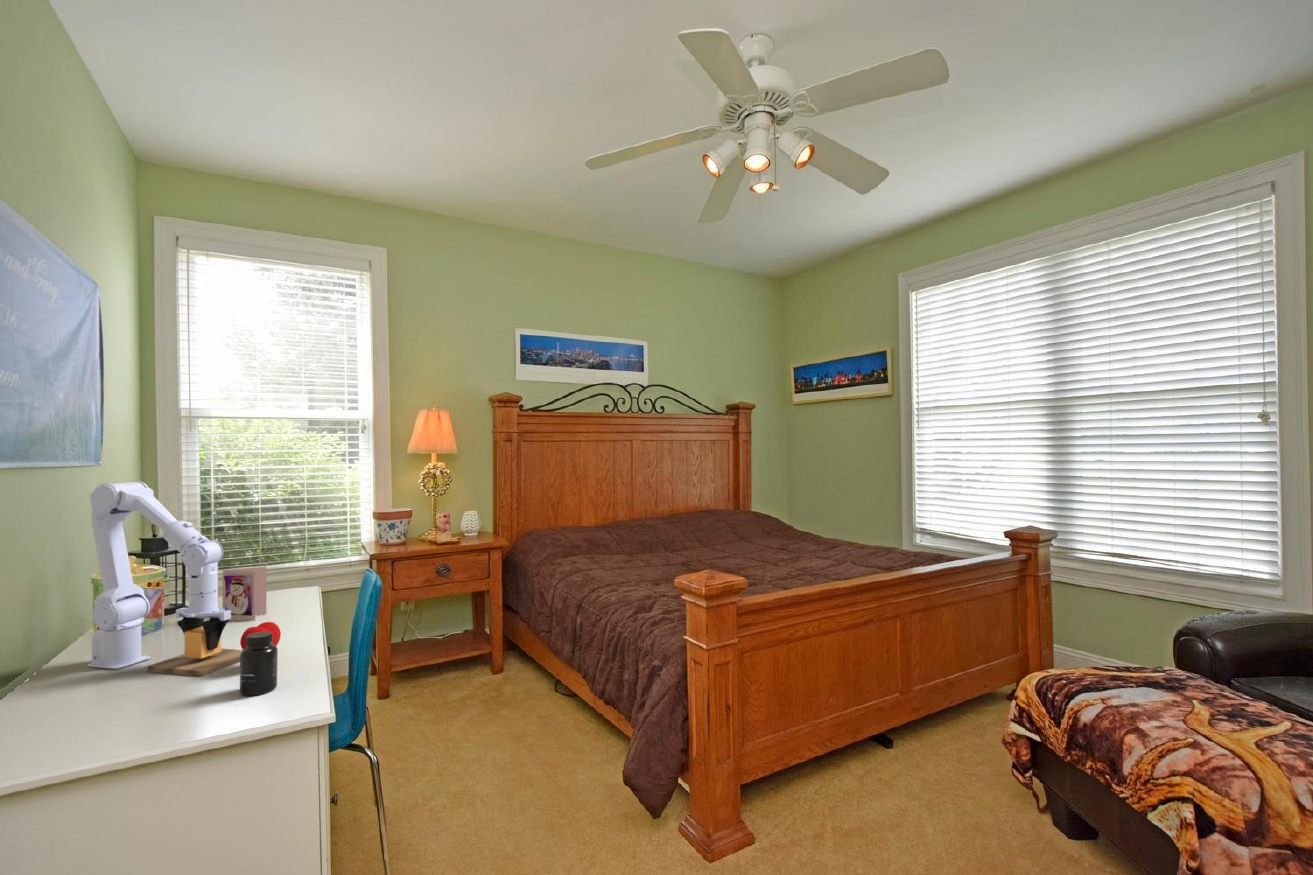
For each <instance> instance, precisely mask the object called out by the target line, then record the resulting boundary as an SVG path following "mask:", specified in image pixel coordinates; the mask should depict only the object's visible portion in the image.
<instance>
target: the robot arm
mask: <svg viewBox="0 0 1313 875" xmlns="http://www.w3.org/2000/svg"><path fill="white" fill-rule="evenodd" d="M154 493H155V492H154V490H153V489H152V488H150V487H149V486H148V485H147V484H146V483H145V482H143V481H140V480H135V481H134V480H133V481H130V482H129V481H128V482H113V483H110V482H105V483H100V484H99V485H97V487H95V488H94V490H93V491H92V492H91V493H90V495H89V501H90V505H91V515H90V516H91V517H90V521H91V526H92V532H93V537H94V538H93V539H94V543H95V549H96V554H97V560H98V565H99V571H100V575H101V581H102V587H103V590H102V591H101V593H100V594H99V595H97V597H96V598H95V599H94V601H93V603H94V611H93V614H92V619H93V622H94V625H95V626H96V627H97V628H99V629H97V630H96V631H95V632H94V634H93V635H92V639H91V663H88V664H87V667H90V668H98V669H99V668H100V669H111V670H118V669H122V668H125V667H128V666H130V665H135V664H137V663H140V662H143V661H146V660H149V659H151V658H152V657H151V656H149V655H142V623H144V622H145V618H146V617H147V616H148V615H149V614H150V611H151V604H150V601H149V599H148V598H147V597H146V595H145V592H144V589H143V588H142V587H141V586H139V585H137V584H135V583H134V580H133V574H132V569H131V564H130V559H129V553H128V548H127V543H126V542H127V541H126V537H125V532H124V527H123V521H124V520H126V518H127V517H128V516H129V515H130V514H132V513H133V512H138V513H140V514H141V515H142V516H143V517H145V518H146V519H148V520H149V521H150V522H151V523H153V524H154V525H156V526H157V527H158V528H160V529H161V530H162V531H163V534H162V537H163V539H164V540H165V541H166V542H167V543H168V544H170V545H171V546H172V547H173V548H174V549H175V550H177V552H179V553H180V554H181V555H182V556H181V561H182V564H184V566H185V567H186V573H187V574H188V607H181V608H177V609H175V618H179V619H180V618H181V619H180V620H178V621H177V626H178V627H180V630H181V631H182V632H183V634H184V636H185V632H186V631H189V630H192V629H196V628H199V627H203V629H204V632H205V636H206V645H207V649H208V650H212V649H215V648H217V647H218V643H219V640H220V637H221V636H222V634H223V631H224V630H225V627H227V626H226V625H227V624H228V623H229V621H230V620H229V619H231V611H229V610H224V609H223V608H222V607H221V608H220V607H218V603H219V602H218V601H219V598H218V597H219V595H218V592H219V588H218V587H219V582H218V581H219V577H218V576H219V567H218V566H219V564H218V563H219V562H220V561H221V560H222V558H223V556H224V548H223V546H222V545H221V543H220V541H218V540H215V539H209V538H207V537H206V536H205V535H202V533H201V532H199V531H198V530H197V529H196V528H195V527H193V526H194V524H193V523H192V522H190V521H186V520H177V519H176V517H175V516H173V515H172V514H171V512H170V511H169V510H168V509H167V508H166V507H165V506H164V504H162V503H161V502H160V501H159V500H158V499H157V498H156V497H155V496H154ZM205 619H206V620H205ZM207 619H209V620H207ZM221 638H222V637H221Z"/></svg>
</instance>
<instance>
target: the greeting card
mask: <svg viewBox="0 0 1313 875" xmlns="http://www.w3.org/2000/svg"><path fill="white" fill-rule="evenodd" d="M222 609H224V610H229V611H231V619H241V620H240V621H252V620H255V621H256V616H255V615H258V616H262V615H261V614H266V615H267V566H259V567H246V568H236V569H235V568H233V569H223V570H222Z"/></svg>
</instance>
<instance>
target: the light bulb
mask: <svg viewBox="0 0 1313 875" xmlns="http://www.w3.org/2000/svg"><path fill="white" fill-rule="evenodd" d="M257 632H272V634H273V638H272V639H273V642H272V643H271V644H274V645H275V646H276V647H277V646H278V644H279V643H280V640H281V628H280V627H279V625H278V624H276V623H275V622H273V621H265V622H261V623H260V624H258V625H257V626H250V627H248V628H246V629H245V630H244V632H243V633H242V636H241V638H240V643H239V644H240V647H241V650H244V649H245V648H246V647H247V646H246V636H248V635H249V634H252V633H257Z"/></svg>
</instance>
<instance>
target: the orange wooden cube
mask: <svg viewBox="0 0 1313 875" xmlns="http://www.w3.org/2000/svg"><path fill="white" fill-rule="evenodd" d="M221 639H222V637H220V640H219V643H218V647H217V648H215V649H212V650H208V649H207V645H206V636H205V632H204V629H203V627H199V628H196V629H192V630H189V631H186V632H185V635H184V654H185V657H190V658H204V657H207V656H210V655H212V654H215V653H218V652H221V646H222V645H221V642H222V640H221Z"/></svg>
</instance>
